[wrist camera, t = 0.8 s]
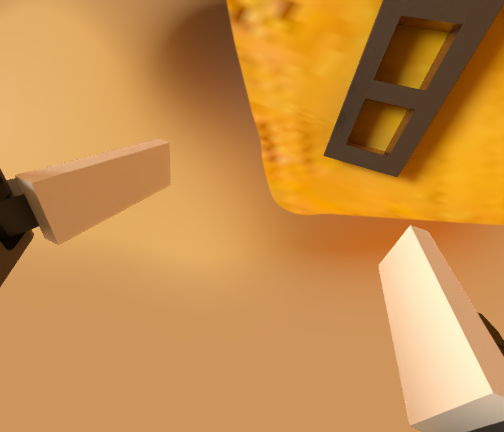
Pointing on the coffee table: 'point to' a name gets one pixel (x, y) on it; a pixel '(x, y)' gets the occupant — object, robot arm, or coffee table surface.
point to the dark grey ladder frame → (416, 100)
